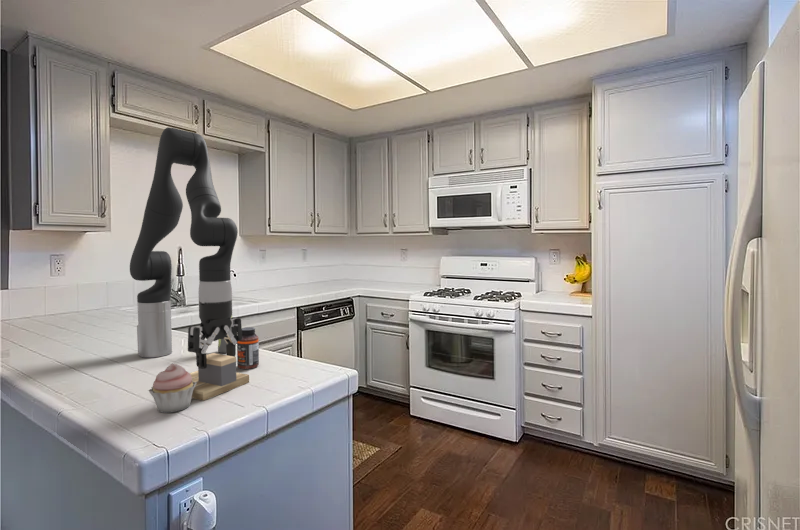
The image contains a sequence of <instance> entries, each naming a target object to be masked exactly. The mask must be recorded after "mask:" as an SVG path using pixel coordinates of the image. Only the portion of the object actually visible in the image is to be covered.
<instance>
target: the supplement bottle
mask: <svg viewBox="0 0 800 530" xmlns="http://www.w3.org/2000/svg"><path fill="white" fill-rule="evenodd" d="M259 341H260V340H259V335H257V334H256V328H255V327H252V326H251V327H250V326H247V327H242V340H241V341H238V342H237V344H236V366H237V368H238V369H241V370H249V369H250V370H251V369H254V368H255V369H256V368H257V367H258V366H259V364H260V361H259V360H260V359H259V358H260V357H259V355H260V354H259V353H260V351H259V348H260V347H259V346H260V345H259V344H260V343H259Z"/></svg>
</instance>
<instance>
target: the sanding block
mask: <svg viewBox="0 0 800 530" xmlns="http://www.w3.org/2000/svg"><path fill="white" fill-rule="evenodd" d="M206 358H207V368H205V369H200V368H198V367H197V371H198V377H199V381H200V382H204V383H209V384H214V385H219V386H224V385H226V384H229V383H231V382H234V381H236V372H237V356H235V357H234V356H228V355H226V354H223V353H215V352H213V353H209V354H206Z"/></svg>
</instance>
